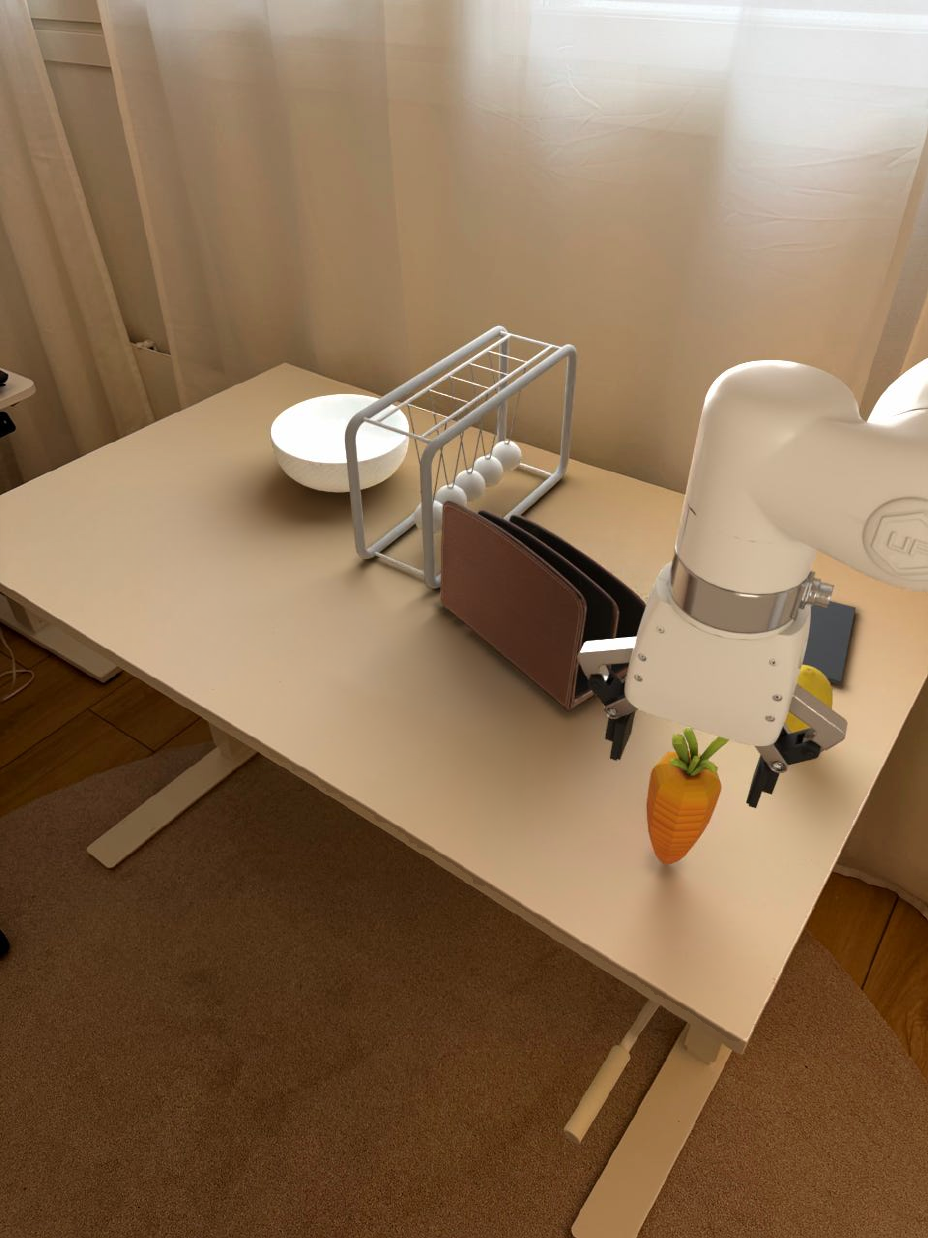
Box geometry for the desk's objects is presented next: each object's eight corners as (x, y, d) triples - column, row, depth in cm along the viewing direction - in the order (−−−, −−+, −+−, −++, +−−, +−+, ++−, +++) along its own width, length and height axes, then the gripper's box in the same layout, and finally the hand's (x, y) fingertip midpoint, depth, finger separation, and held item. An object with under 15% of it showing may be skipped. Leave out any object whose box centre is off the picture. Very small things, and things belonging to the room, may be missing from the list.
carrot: (701, 845, 71) (739, 716, 62) (692, 897, 68) (731, 770, 58) (639, 828, 73) (667, 699, 63) (627, 878, 69) (654, 751, 59)
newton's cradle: (499, 450, 118) (503, 319, 106) (569, 473, 114) (580, 339, 102) (355, 564, 99) (340, 420, 88) (431, 598, 95) (426, 450, 83)
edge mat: (854, 611, 93) (855, 607, 93) (839, 685, 85) (841, 681, 85) (720, 576, 98) (721, 573, 97) (694, 644, 89) (694, 640, 89)
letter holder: (568, 713, 82) (581, 595, 73) (439, 605, 94) (435, 491, 85) (643, 666, 87) (664, 550, 78) (511, 568, 99) (515, 457, 89)
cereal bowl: (249, 486, 111) (240, 436, 107) (332, 430, 122) (327, 382, 118) (358, 527, 105) (353, 475, 100) (436, 464, 115) (435, 415, 111)
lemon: (826, 726, 81) (850, 662, 76) (808, 766, 77) (833, 702, 72) (766, 702, 83) (786, 639, 78) (746, 740, 80) (766, 676, 74)
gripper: (899, 581, 52) (820, 771, 63) (612, 510, 57) (586, 696, 68) (887, 663, 46) (803, 854, 58) (573, 576, 52) (552, 766, 63)
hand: (685, 768), depth 63 cm, fingers open, 9 cm apart
